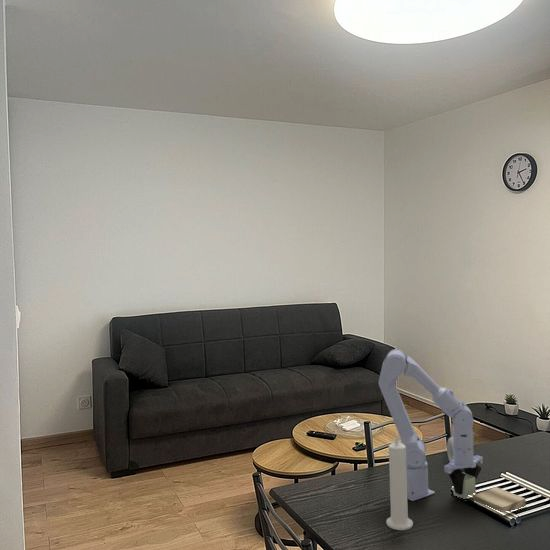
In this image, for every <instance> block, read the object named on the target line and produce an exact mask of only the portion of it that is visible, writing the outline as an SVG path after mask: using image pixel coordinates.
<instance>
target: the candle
mask: <svg viewBox="0 0 550 550" xmlns="http://www.w3.org/2000/svg"><path fill="white" fill-rule="evenodd" d="M394 437H395V438H394V441H392V442H391V443H389V445H388V461H389V463H388V464H389V466H388V467H389V495H390V498H389V499H390V517H387V518H386V525H387V526H388V528H390V529H393V530H397V531H407V530H411V529H412V528H413V526H414V521H413V520H412V519H411V518H409V512H408V499H407V473H406V446H405V445H404V444H402V442H401V439H400V438H399V437H400V436H399V433H396V434H395V435H394Z"/></svg>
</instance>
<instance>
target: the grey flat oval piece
mask: <svg viewBox="0 0 550 550" xmlns="http://www.w3.org/2000/svg"><path fill="white" fill-rule="evenodd" d="M446 452H447V458H448V461H449V463H450V462H451V461H452V460H454V450H453V436H451V437H449V438H448V440H447V443H446Z"/></svg>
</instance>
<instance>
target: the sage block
mask: <svg viewBox="0 0 550 550" xmlns="http://www.w3.org/2000/svg"><path fill="white" fill-rule="evenodd" d="M462 473H464V474H466V473H465V472H462ZM476 492H477V491H476V483H475V477H474V476H471V475H469V474H466V475H465V477H464V481H463V492H462V494H461V495H460V494H457V493H455V489H454V486H453V496H455V497H456V496H457V498H459V497H460V498H459V499H461V498H463V499H466V497H467V496H468V495H471V494H473V493H476ZM476 494H477V493H476ZM463 499H462V500H463Z"/></svg>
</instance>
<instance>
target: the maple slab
mask: <svg viewBox="0 0 550 550" xmlns="http://www.w3.org/2000/svg"><path fill="white" fill-rule="evenodd" d="M472 500H473V501H476V502H479V503H481V504H484V505H487V506H489V507H491V508H493V509H495V510H498V511H500V512H505V511H511V510H515V509H519V508H521V507H524V506H526V505H527V501H526V498H525V497H524V496H523V497H522V496H520V495H518V494H515V493H512V492H510V491H508V490H505V489H502V488H501V487H497V486H495V487H491V488H490V489H487V490H484V491H480V492H477V493H476V494H475V495H473V498H472ZM526 507H527V506H526Z"/></svg>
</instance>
